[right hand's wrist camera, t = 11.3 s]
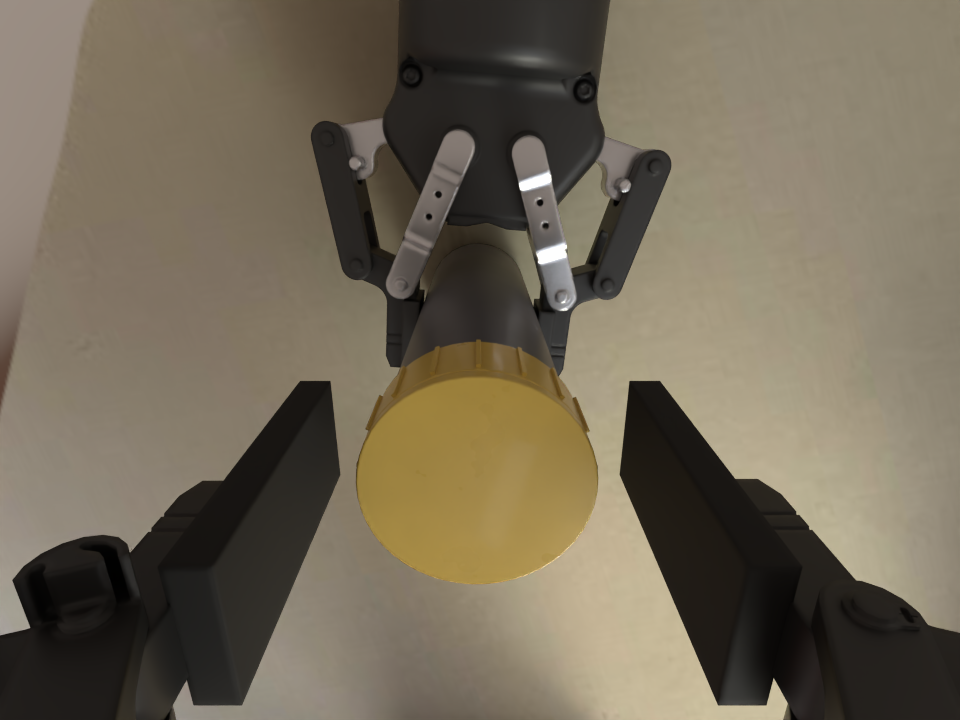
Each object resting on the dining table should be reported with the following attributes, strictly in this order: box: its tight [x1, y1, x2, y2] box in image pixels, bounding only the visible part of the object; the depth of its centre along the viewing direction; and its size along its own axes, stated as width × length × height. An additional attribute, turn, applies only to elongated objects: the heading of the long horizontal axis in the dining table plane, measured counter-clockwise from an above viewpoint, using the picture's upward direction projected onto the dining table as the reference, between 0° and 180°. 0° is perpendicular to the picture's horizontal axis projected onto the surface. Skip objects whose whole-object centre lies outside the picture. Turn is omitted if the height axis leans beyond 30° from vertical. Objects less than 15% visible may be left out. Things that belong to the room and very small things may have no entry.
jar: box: [398, 244, 557, 374], centre depth 21 cm, size 5×5×19 cm
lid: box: [356, 340, 598, 584], centre depth 13 cm, size 6×6×2 cm
